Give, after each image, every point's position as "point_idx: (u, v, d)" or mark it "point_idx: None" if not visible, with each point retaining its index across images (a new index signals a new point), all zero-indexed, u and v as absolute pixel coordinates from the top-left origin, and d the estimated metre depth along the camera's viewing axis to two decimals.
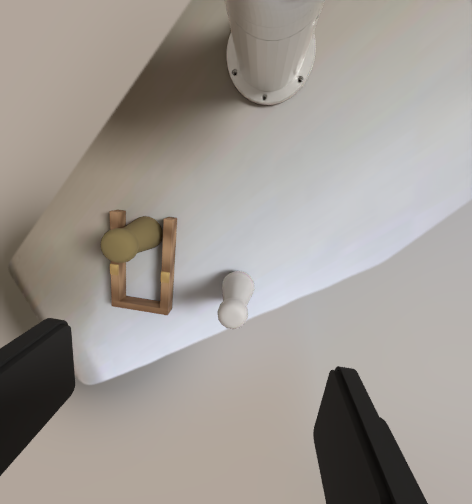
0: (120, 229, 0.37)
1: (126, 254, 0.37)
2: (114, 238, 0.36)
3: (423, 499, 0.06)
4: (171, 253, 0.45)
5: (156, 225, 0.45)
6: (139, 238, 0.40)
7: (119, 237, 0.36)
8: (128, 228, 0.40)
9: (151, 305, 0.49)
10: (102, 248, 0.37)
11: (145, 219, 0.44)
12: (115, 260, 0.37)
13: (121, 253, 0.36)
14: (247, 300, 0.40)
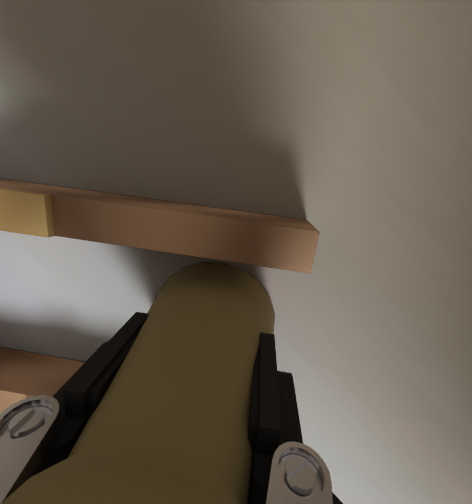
0: None
1: None
2: None
3: (298, 426, 0.07)
4: None
5: None
6: None
7: None
8: None
9: None
10: None
11: None
12: None
13: None
14: None
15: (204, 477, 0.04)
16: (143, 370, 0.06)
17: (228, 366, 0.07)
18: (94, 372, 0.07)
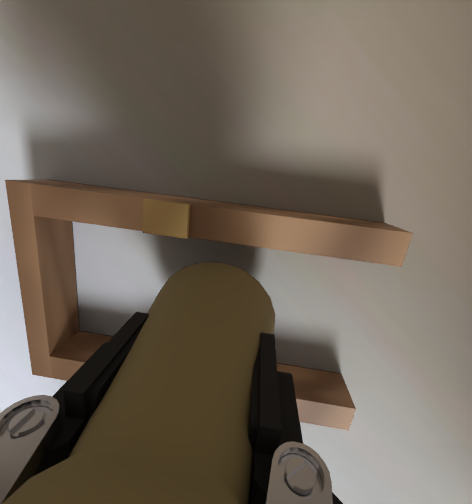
0: None
1: None
2: None
3: (298, 426, 0.07)
4: None
5: None
6: None
7: None
8: (250, 483, 0.06)
9: (53, 323, 0.14)
10: None
11: None
12: None
13: None
14: None
15: (206, 477, 0.04)
16: (144, 370, 0.06)
17: (229, 366, 0.07)
18: (94, 372, 0.07)
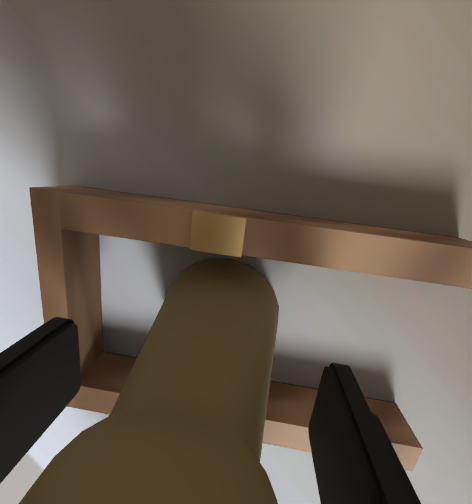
0: None
1: None
2: None
3: (412, 491, 0.06)
4: None
5: None
6: None
7: None
8: (261, 446, 0.07)
9: None
10: None
11: None
12: None
13: None
14: None
15: (226, 429, 0.05)
16: (166, 349, 0.07)
17: (240, 347, 0.08)
18: None
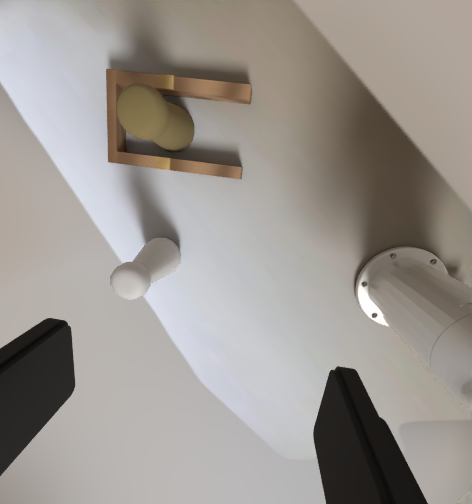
0: (166, 117, 0.26)
1: (130, 128, 0.26)
2: (150, 110, 0.25)
3: (423, 499, 0.06)
4: None
5: (182, 146, 0.35)
6: (158, 137, 0.29)
7: (152, 118, 0.25)
8: (171, 120, 0.29)
9: (118, 137, 0.34)
10: (133, 88, 0.25)
11: (189, 132, 0.34)
12: (118, 108, 0.25)
13: (131, 121, 0.25)
14: None
15: None
16: None
17: (168, 103, 0.30)
18: None
